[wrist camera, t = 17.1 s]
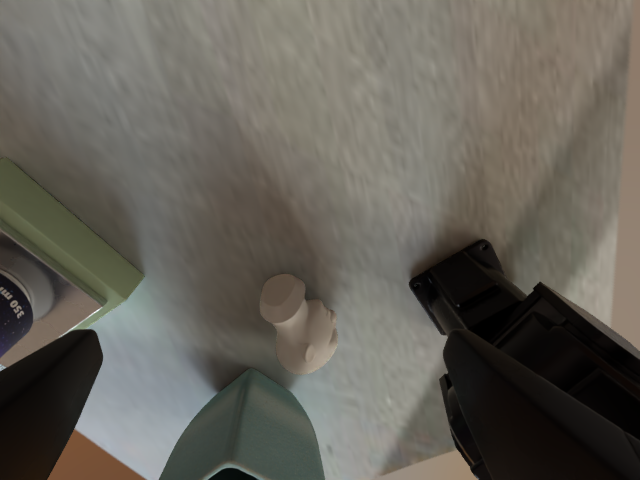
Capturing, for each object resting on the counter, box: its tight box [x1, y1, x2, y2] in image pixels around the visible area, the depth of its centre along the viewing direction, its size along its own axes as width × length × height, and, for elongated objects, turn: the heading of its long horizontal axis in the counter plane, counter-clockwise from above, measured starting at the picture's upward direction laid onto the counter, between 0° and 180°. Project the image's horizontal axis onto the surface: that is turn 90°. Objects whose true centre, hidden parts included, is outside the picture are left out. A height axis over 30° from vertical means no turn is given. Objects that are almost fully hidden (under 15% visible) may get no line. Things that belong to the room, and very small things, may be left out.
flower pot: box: [159, 369, 325, 480], centre depth 23 cm, size 9×9×9 cm
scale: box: [0, 158, 145, 334], centre depth 19 cm, size 10×10×3 cm
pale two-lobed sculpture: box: [260, 274, 338, 375], centre depth 22 cm, size 4×8×5 cm
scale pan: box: [0, 219, 108, 367], centre depth 18 cm, size 8×8×1 cm
